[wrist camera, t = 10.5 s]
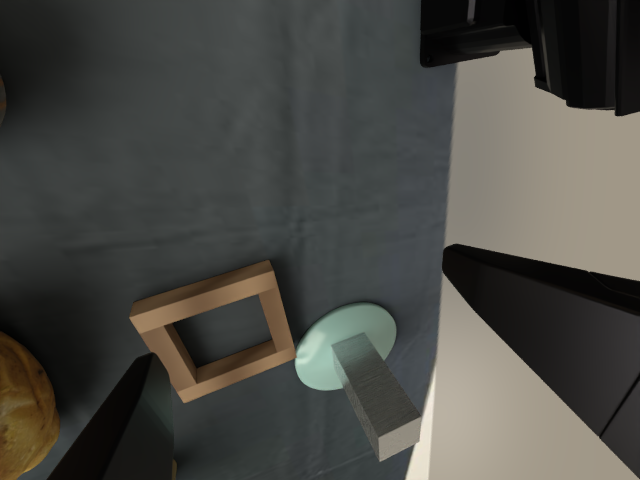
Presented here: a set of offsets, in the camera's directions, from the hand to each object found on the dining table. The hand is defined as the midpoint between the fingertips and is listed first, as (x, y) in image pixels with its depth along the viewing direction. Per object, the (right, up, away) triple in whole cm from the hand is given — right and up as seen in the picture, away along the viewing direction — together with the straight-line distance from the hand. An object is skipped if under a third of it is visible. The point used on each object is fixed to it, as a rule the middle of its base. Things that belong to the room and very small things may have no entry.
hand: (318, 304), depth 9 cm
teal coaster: (+3, -9, +22) cm, 24 cm away
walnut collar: (-8, -5, +15) cm, 18 cm away
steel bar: (+3, -9, +21) cm, 23 cm away
